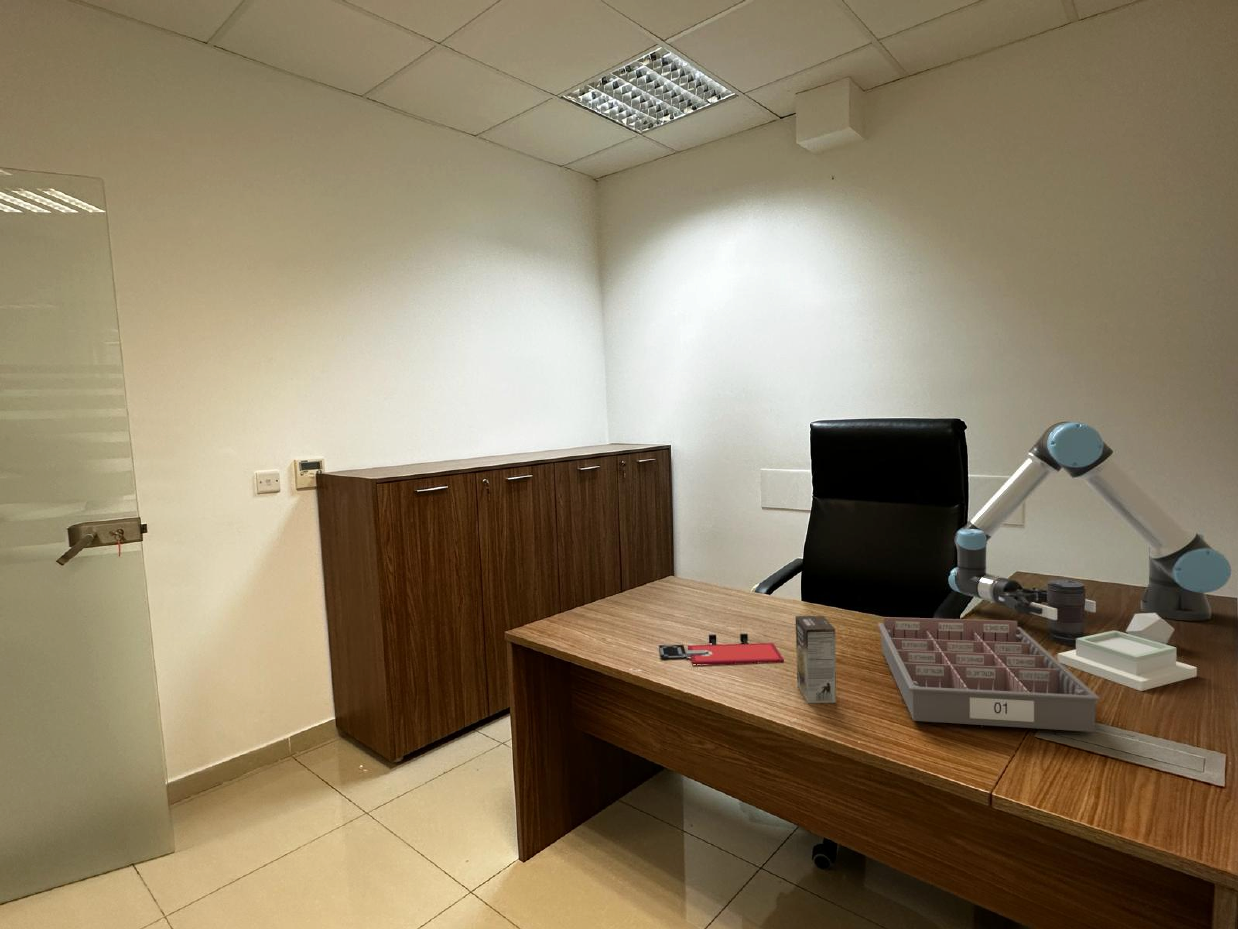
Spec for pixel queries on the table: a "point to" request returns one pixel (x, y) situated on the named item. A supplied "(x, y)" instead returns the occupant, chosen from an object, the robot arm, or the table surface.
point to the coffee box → (816, 659)
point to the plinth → (1128, 677)
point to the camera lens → (1066, 610)
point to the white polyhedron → (1150, 627)
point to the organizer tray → (983, 675)
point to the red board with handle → (724, 652)
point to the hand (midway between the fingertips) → (1075, 610)
